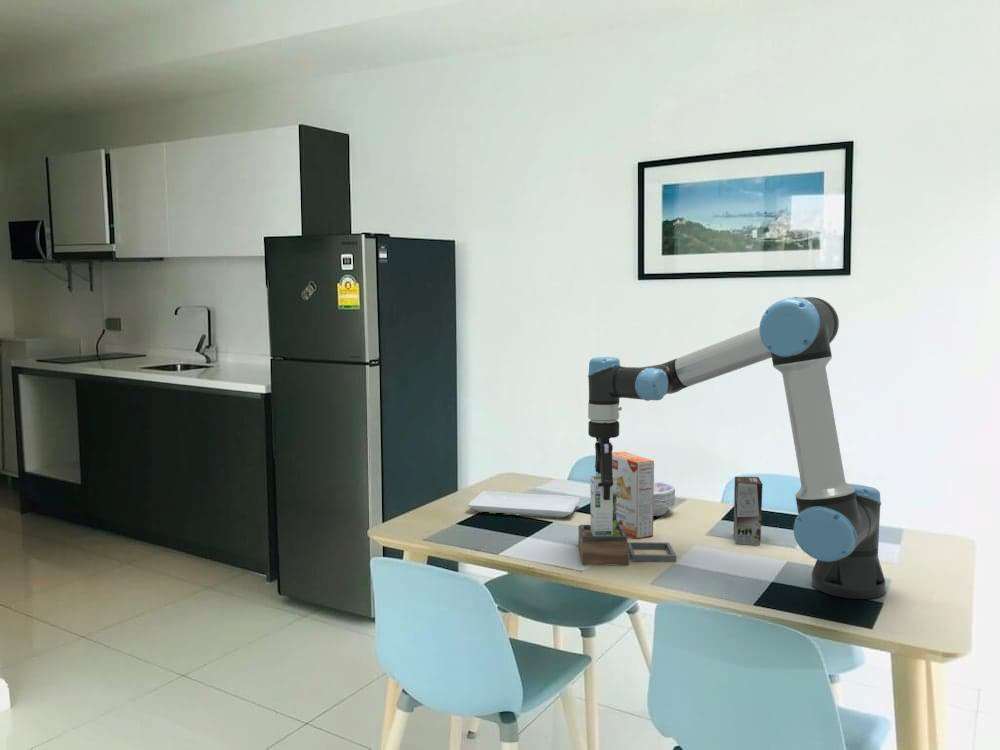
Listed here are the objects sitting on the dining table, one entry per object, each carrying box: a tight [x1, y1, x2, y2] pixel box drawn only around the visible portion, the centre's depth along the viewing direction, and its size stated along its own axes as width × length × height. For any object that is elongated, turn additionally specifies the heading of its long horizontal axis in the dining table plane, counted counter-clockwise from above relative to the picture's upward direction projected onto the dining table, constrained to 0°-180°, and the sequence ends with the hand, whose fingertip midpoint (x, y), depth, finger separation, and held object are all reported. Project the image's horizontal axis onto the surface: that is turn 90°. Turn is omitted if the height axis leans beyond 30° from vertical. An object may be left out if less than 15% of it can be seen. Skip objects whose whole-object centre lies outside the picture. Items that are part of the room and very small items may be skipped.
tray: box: [467, 490, 582, 519], centre depth 250 cm, size 17×32×4 cm, turn 75°
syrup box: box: [589, 475, 617, 536], centre depth 208 cm, size 6×6×14 cm
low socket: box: [628, 541, 677, 563], centre depth 208 cm, size 11×11×2 cm
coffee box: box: [733, 476, 763, 546], centre depth 219 cm, size 9×6×16 cm
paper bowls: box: [653, 481, 676, 517], centre depth 246 cm, size 15×15×8 cm
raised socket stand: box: [577, 524, 630, 566], centre depth 208 cm, size 16×11×6 cm
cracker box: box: [612, 451, 655, 540], centre depth 227 cm, size 14×6×21 cm, turn 27°
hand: (603, 505), depth 207 cm, fingers open, 13 cm apart
